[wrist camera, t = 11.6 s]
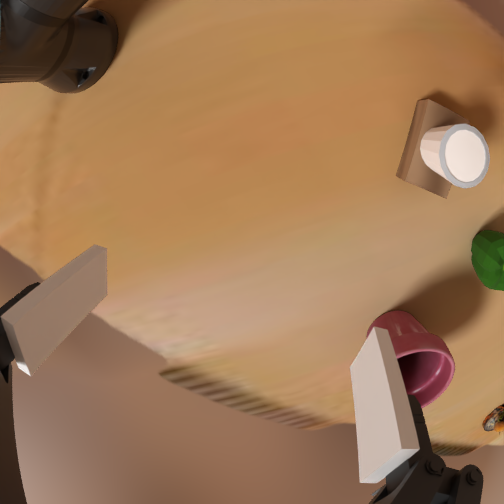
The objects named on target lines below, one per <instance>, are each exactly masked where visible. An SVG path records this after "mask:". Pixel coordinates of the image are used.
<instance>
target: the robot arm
mask: <svg viewBox="0 0 504 504" xmlns="http://www.w3.org/2000/svg"><path fill="white" fill-rule="evenodd" d="M87 1H88V0H0V83H11V82H39V83H41V84H43V85H45V86H47V87H49V88H51V89H52V90H54V91H57V92H60V93H77V92H81V91H83V90H85V89H87V88H89V87H90V86H92V85H93V84H94V83H95V82H97V81H98V80H99V78H100V77H101V76H102V75H103V74H104V72H105V71H106V70H107V68H108V66H109V65H110V63H111V61H112V59H113V56H114V53H115V50H116V47H117V41H118V30H117V25H116V22H115V20H114V19H113V17H112V16H111V15H110V14H108V13H107V12H105V11H102V10H100V9H97V8H92V7H85V8H81V7H82V6H83V5H84V4H85V3H86V2H87ZM106 296H107V248H104V247H101V246H98V245H93V246H92V247H90V248H89V249H88V250H86V251H85V252H83V253H82V254H80V255H79V256H78V257H76V258H75V259H73V260H72V261H71V262H69V263H68V264H66V265H65V266H64V267H62V268H61V269H60V270H58V271H57V272H56V273H54V274H53V275H52V276H50V277H49V278H48V279H46V280H45V281H44V282H42V283H38V282H37V283H34V284H32V285H29V286H27V287H26V288H25V289H24V290H22V291H21V292H20V294H19V293H18V294H17V295H16V296H15V297H14V298H12V299H11V300H9V301H8V302H7V303H6V304H5V305H3V306H2V307H1V308H0V504H27V502H26V497H25V493H24V489H23V484H22V479H21V474H20V469H19V463H18V456H17V449H16V441H15V431H14V419H13V401H12V365H11V361H13V360H14V358H15V360H16V362H17V365H18V367H19V368H20V369H21V370H22V371H24V372H26V373H27V374H28V375H30V376H32V375H33V373H34V372H35V371H36V370H37V369H38V368H39V366H40V365H41V364H42V363H43V362H44V361H45V360H46V359H47V358H48V356H49V355H50V354H51V353H52V352H53V351H54V350H55V349H56V348H57V347H58V346H59V344H60V343H61V342H62V341H63V340H64V339H65V338H66V337H67V336H68V335H69V334H70V332H72V330H73V329H74V328H75V327H76V326H77V325H78V324H79V323H80V322H81V321H82V320H83V319H84V318H85V317H86V316H87V315H88V314H89V313H90V312H91V311H92V310H93V309H94V308H95V307H96V306H97V305H98V304H99V303H100V302H101V301H102V300H103V299H104V298H105V297H106ZM350 371H351V379H352V388H353V397H354V407H355V417H356V427H357V440H358V455H359V475H360V483H378V482H379V481H380V480H382V479H383V478H385V477H386V484H385V485H384V486H383V487H381V488H380V489H378V490H377V491H375V492H374V493H373V494H372V495H373V496H374V495H375V494H376V496H375V497H374V498H373V499H372V500H371V502H370V503H369V504H480V501H481V494H482V488H483V475H482V472H481V471H480V469H479V468H478V467H476V466H475V465H467V466H465V467H464V468H462V469H461V470H460V471H459V470H455V469H452V468H449V467H446V465H445V463H444V461H443V459H442V458H441V457H440V456H438V455H436V454H434V453H433V451H432V447H431V443H430V439H429V435H428V431H427V427H426V424H425V419H424V416H423V412H422V408H421V404H420V403H419V401H418V400H417V398H416V397H415V396H414V395H409V394H407V393H406V389H405V385H404V382H403V378H402V375H401V371H400V368H399V364H398V361H397V358H396V355H395V351H394V348H393V345H392V342H391V339H390V336H389V333H388V330H387V329H382V328H378V327H373V329H372V331H371V332H370V334H369V336H368V338H367V339H366V341H365V343H364V345H363V346H362V348H361V350H360V351H359V353H358V355H357V356H356V358H355V360H354V361H353V363H352V365H351V366H350Z"/></svg>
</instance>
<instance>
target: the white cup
mask: <svg viewBox="0 0 504 504" xmlns="http://www.w3.org/2000/svg"><path fill="white" fill-rule="evenodd" d="M420 151H421V156H422V158H423V160H424V162H425V164H426V165H427V166H428V167H429V168H431V169H432V170H433V171H435V172H436V173H438V174H439V175H441V176H442V177H444V178H445V179H446V180H448V181H449V182H451V183H452V184H454V185H455V186H458V187H461V188H470V187H474V186H476V185H477V184H478V183H480V182H481V181H482V180H483V178H484V176H485V175H486V173H487V171H488V166H489V161H490V156H489V149H488V145H487V143H486V141H485V139H484V136H483V135H482V134H481V133H480V132H479V131H478V130H477V129H476V128H475V127H473V126H470V125H468V124H457V125H450V126H443V127H437V128H431V129H430V130H429V131H427V132H426V133H425V134H424V136H423V138H422V140H421V146H420Z"/></svg>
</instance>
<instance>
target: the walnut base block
mask: <svg viewBox="0 0 504 504" xmlns="http://www.w3.org/2000/svg"><path fill="white" fill-rule="evenodd" d="M469 122H470V121H469V120H467V119H465V118H464V117H462V116H460V115H458V114H457V113H455V112H453V111H451V110H449V109H447V108H445V107H444V106H442V105H440V104H438V103H436V102H434V101H432V100H430V99H426V100H420V101H417V104H416V108H415V112H414V116H413V120H412V123H411V127H410V131H409V134H408V138H407V141H406V145H405V148H404V151H403V155H402V158H401V161H400V164H399V167H398V170H397V174H396V176H397V177H399V178H401V179H402V180H404V181H406V182H409V183H411V184H413V185H416V186H418V187H421V188H423V189H425V190H428V191H430V192H432V193H434V194H437V195H439V196H441V197H443V198H446V199H447V196H448V193H449V190H450V187H451V184H452V183H451V182H449V181H448V180H446V179H445V178H444V177H442V176H441V175H439V174H438V173H436V172H435V171H433V170H432V169H431V168H429V167H428V166H427V165H426V164H425V162H424V160H423V158H422V156H421V151H420V146H421V140H422V138H423V136H424V134H425V133H426V132H427V131H429V130H430V129H431V128H437V127H443V126H450V125H457V124H468V125H469Z"/></svg>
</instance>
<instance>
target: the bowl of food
mask: <svg viewBox="0 0 504 504" xmlns="http://www.w3.org/2000/svg"><path fill="white" fill-rule="evenodd" d="M482 426H483V427H484V430H485V431H492V430H495V431H496V432H499V433H500V432H502V431H504V407H501V406H499V407H497V408H496V409H494V412H492V413H491V415H490V416H489V415H488V416H487V417H486V418H485V421H483V424H482Z"/></svg>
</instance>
